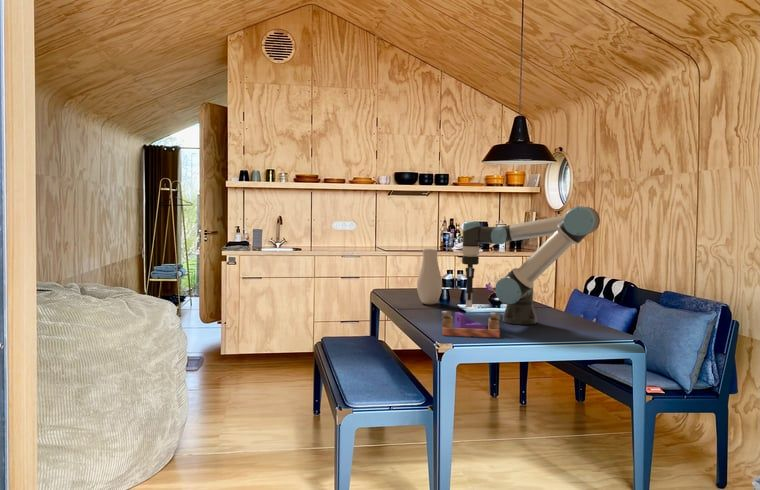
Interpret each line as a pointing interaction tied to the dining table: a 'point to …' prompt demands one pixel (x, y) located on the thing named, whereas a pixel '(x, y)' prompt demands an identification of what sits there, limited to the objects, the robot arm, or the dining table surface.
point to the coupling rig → (490, 332)
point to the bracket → (466, 322)
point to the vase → (429, 278)
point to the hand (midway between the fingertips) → (468, 306)
